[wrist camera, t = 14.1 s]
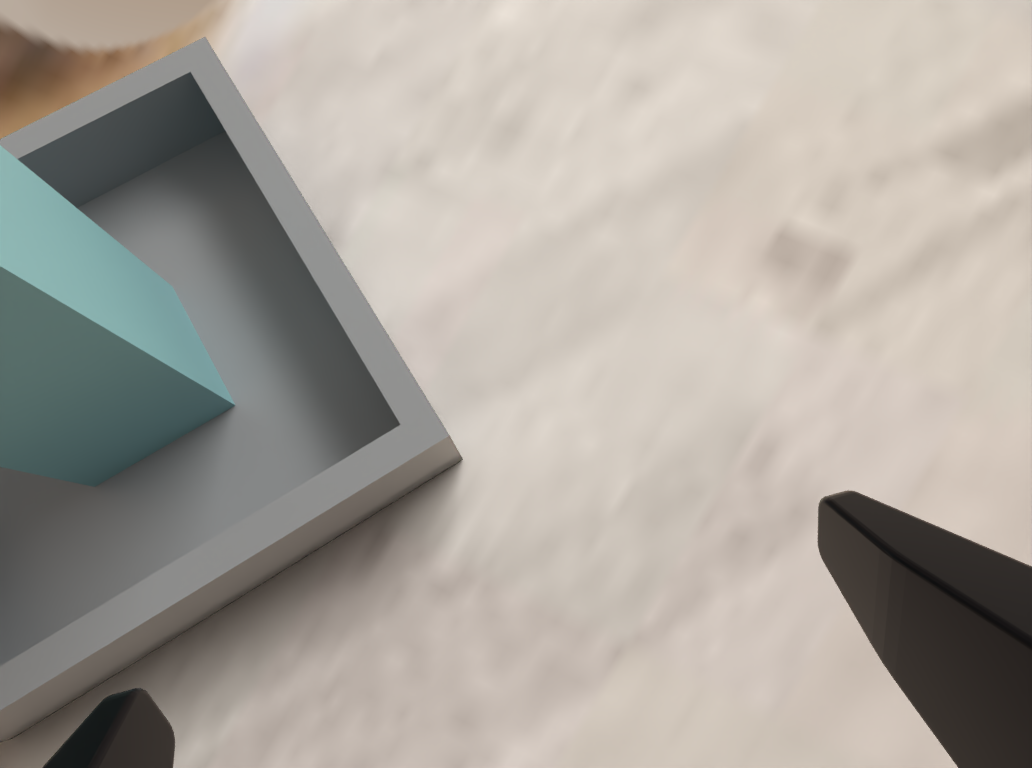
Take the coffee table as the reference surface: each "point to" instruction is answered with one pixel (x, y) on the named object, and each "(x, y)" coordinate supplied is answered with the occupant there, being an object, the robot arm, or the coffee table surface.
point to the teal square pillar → (88, 344)
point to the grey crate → (244, 371)
